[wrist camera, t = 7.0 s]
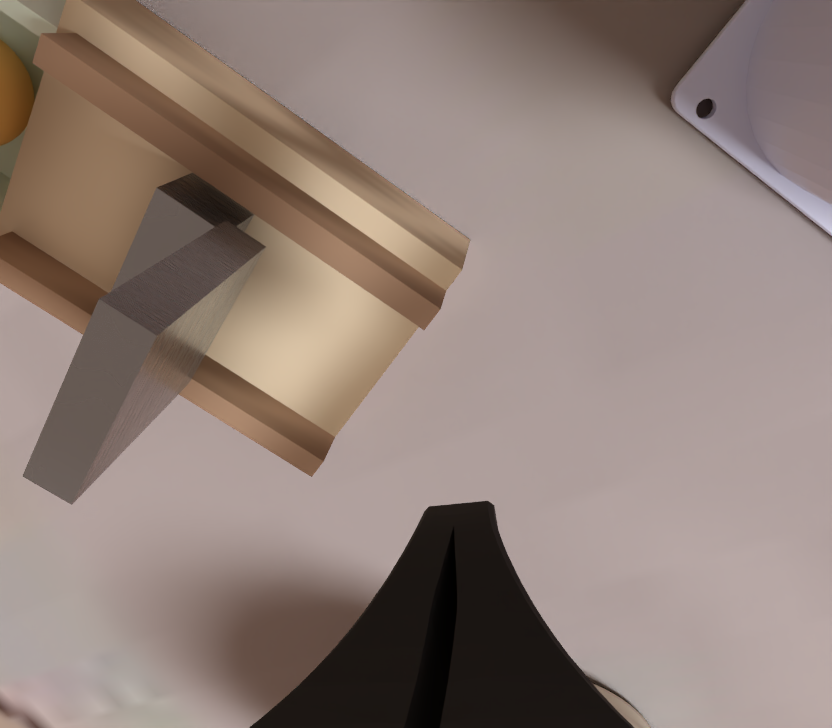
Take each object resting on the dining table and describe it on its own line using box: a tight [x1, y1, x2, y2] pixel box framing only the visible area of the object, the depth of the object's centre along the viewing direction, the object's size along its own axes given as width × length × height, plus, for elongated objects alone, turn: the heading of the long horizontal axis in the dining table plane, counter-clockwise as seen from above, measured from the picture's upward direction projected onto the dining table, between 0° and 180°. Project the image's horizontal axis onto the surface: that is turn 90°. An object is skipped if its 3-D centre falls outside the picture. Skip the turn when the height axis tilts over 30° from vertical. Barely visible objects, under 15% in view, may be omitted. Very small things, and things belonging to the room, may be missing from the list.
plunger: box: [23, 173, 266, 505], centre depth 16 cm, size 3×5×7 cm, turn 146°
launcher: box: [0, 0, 470, 477], centre depth 20 cm, size 12×9×4 cm
